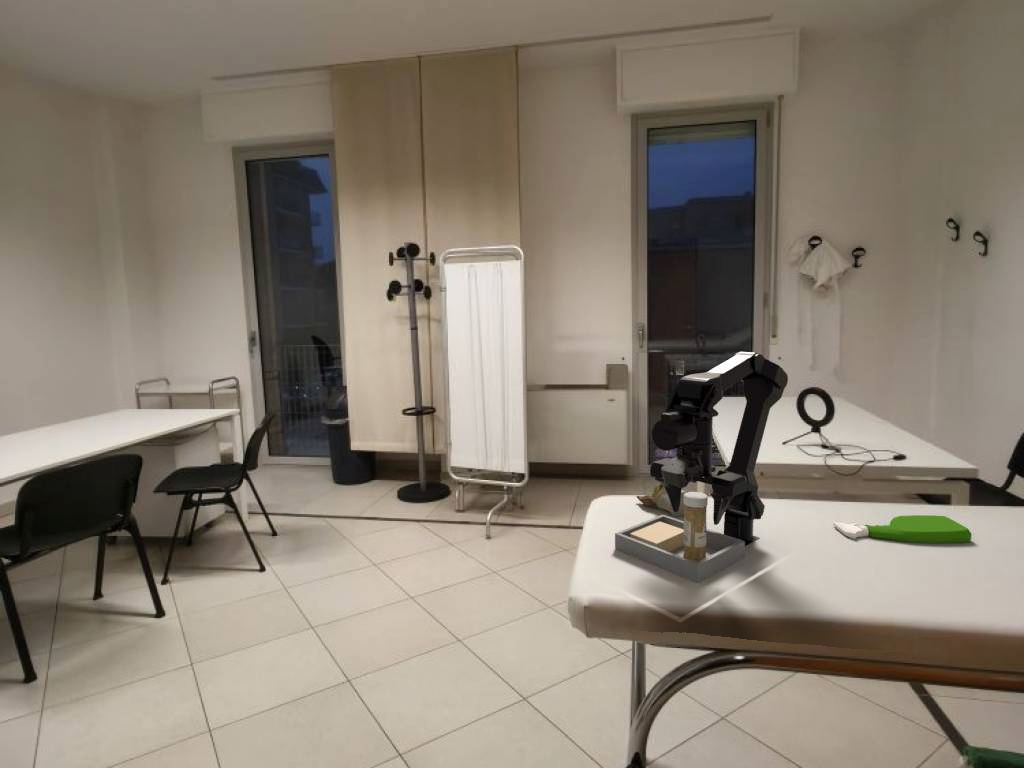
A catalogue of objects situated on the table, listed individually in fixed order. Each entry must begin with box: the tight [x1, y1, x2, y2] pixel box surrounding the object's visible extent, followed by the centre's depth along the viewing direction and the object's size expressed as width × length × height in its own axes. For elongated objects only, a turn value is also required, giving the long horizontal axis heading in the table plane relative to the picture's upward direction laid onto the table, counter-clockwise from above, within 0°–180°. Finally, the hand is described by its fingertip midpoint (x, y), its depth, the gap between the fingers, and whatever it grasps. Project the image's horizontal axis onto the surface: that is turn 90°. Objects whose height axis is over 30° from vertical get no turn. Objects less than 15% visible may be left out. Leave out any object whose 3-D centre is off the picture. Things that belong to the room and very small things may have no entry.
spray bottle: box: [832, 514, 972, 544], centre depth 127 cm, size 3×11×25 cm
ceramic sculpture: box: [636, 482, 690, 517], centre depth 145 cm, size 11×9×15 cm
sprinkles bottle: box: [683, 491, 709, 563], centre depth 116 cm, size 5×5×14 cm
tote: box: [614, 514, 746, 584], centre depth 119 cm, size 16×20×4 cm
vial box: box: [630, 522, 684, 552], centre depth 123 cm, size 10×7×3 cm
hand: (695, 517), depth 115 cm, fingers open, 9 cm apart
